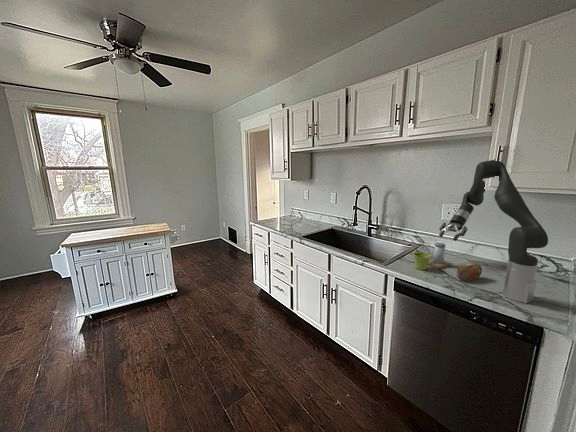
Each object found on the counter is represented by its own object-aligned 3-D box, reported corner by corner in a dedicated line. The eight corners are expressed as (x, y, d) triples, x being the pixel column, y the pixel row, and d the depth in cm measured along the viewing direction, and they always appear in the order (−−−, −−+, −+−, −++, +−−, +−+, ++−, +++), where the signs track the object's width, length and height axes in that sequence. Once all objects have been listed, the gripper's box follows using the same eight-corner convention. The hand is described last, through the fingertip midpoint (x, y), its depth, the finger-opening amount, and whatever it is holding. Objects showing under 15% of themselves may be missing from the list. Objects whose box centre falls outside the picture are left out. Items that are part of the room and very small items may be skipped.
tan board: (452, 265, 148) (452, 263, 147) (439, 269, 143) (439, 267, 142) (436, 260, 156) (436, 258, 156) (423, 263, 152) (424, 261, 151)
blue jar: (445, 263, 148) (447, 244, 146) (439, 265, 146) (441, 246, 143) (436, 260, 153) (438, 242, 151) (431, 262, 151) (432, 243, 148)
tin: (460, 282, 126) (461, 267, 125) (454, 279, 129) (456, 265, 128) (481, 278, 130) (483, 263, 128) (475, 275, 133) (477, 261, 131)
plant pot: (411, 270, 143) (413, 256, 141) (411, 264, 151) (412, 251, 149) (430, 272, 139) (431, 258, 137) (428, 266, 147) (430, 253, 145)
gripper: (446, 212, 157) (433, 232, 154) (470, 216, 144) (456, 237, 141) (450, 219, 160) (438, 238, 157) (474, 223, 147) (461, 244, 145)
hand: (447, 238), depth 149 cm, fingers open, 8 cm apart
